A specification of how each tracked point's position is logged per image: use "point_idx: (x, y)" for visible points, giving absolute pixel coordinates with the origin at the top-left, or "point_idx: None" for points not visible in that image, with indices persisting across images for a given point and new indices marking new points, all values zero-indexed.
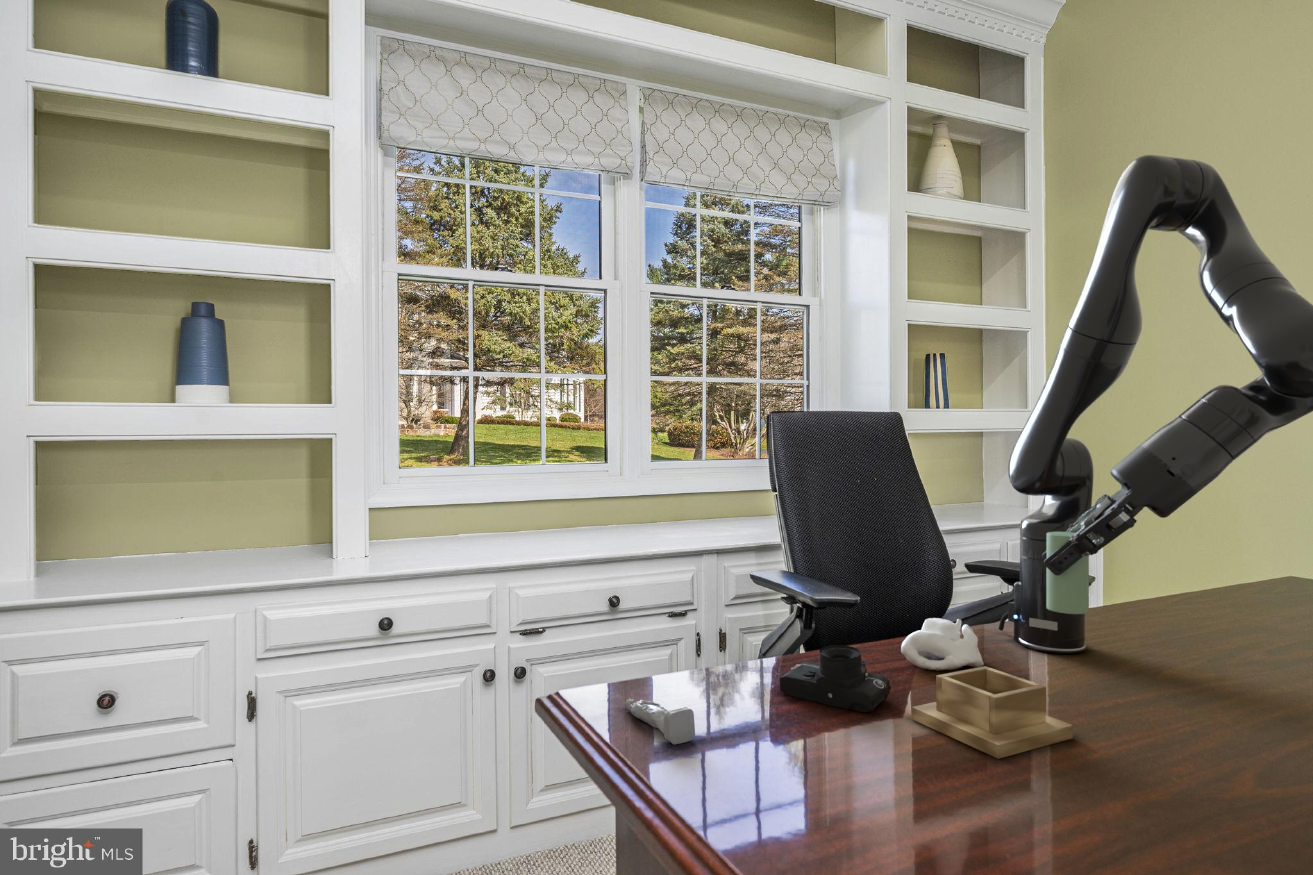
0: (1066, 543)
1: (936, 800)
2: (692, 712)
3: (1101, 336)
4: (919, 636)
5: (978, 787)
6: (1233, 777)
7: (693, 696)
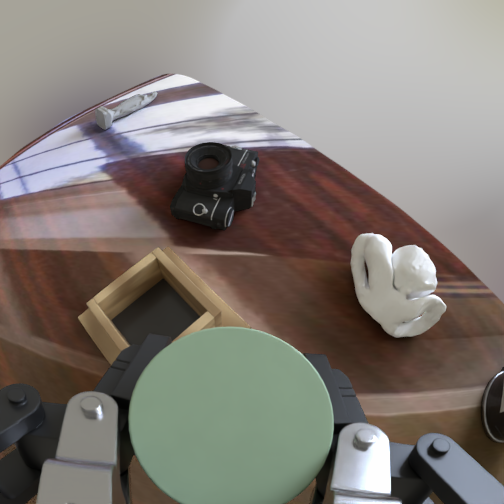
0: (113, 390)
1: (18, 263)
2: (103, 115)
3: None
4: (371, 244)
5: (34, 295)
6: None
7: (189, 114)
